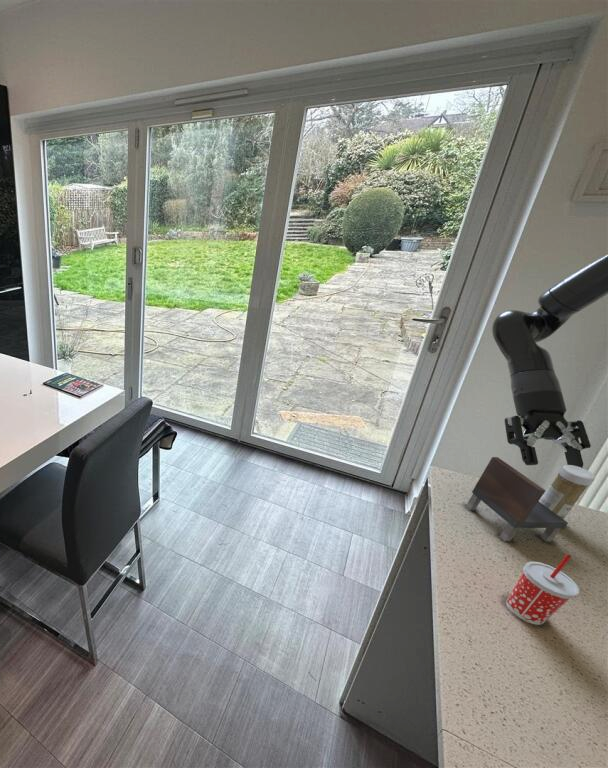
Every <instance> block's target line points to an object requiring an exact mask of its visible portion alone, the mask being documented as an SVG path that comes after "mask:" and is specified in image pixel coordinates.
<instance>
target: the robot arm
mask: <svg viewBox="0 0 608 768" xmlns="http://www.w3.org/2000/svg"><path fill="white" fill-rule="evenodd" d="M606 296H608V253H607V254H605V255H604V256H602V257H600V258H598V259H596V260H594V261H592V262H590V263H588V264H586V265H585V266H583V267H581V268H579V269H578V270H576V271H574V272H573V273H571V274H570V275H567V277H565V278H563V279H562V280H560V281H559V282H557V283H555V284H554V285H553V286H551V287H550V288H548V289H547V290H546V291H544V292H543V293H541V295H539V297H538V298H537V304H538V306H539V308H537V309H536V310H535V311H533V312H526V311H522V310H516V309H515V310H506V311H503V312H501V313H500V314H498V315H497V316H496V317H495V318H494V320H493V323H492V325H491V332H492V337H493V339H494V342H495V343H496V345H497V348H498V349H499V351H500V352H501V354H502V355H503V357H504V358H505V360H506V363H507V369H508V373H509V379H510V390H511V394H512V399H513V403H514V408H515V413H516V415H513V416H509V417H505V418H504V425H505V433H506V434H505V435H506V440H507V443H508V444H509V445H514V446H516V447H518V448H519V451H520V455H521V460H522V462H523V463H524V464H525V466H537V465H538V464H539V459H538V456H537V455H538V454H537V451H536V447H535V446H534V445H535V444H536V442H537V440H541V439H543V440H547V441H552V442H553V443H554V444H557V445H559V446H560V447H561V448H562V449H563V450H564V452H563V453H564V456H565V461H566V465H574V466H578V467H581V468H583V467H584V460H583V456H582V453H581V451H582V450H585V449H591V447H592V445H591V442H590V439H589V436H588V433H587V430H586V427H585V425H584V422H583V421H582V420H580V419H579V420H574V421H568V420H566V418H565V414H566V412H567V407H566V403H565V400H564V399H565V398H564V395H563V392H562V387H561V384H560V381H559V378H558V376H557V375H556V372H555V367H554V364H553V359H552V357H551V354H550V352H549V351H548V350H547V349H545V348H543V347H542V346H540V345H539V344H537V343H539V342H542V341H544V340H545V339H548V338H549V337H551V336H552V335H553V334H554V333H556V332H557V331H558V330H559V329H560V328H561V327H562V326H563V325H565V324H566V323H567V322H568V321H569V320H570V319H571V318H572V316H574V315H575V314H577V313H580V311H582V310H585V309H586V308H588V307H589V306H591V305H593V304H594V303H596V302H598V301H599V300H601V299H602V298H604V297H606ZM523 429H524V430H523ZM583 469H584V468H583Z"/></svg>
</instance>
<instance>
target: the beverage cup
mask: <svg viewBox="0 0 608 768" xmlns="http://www.w3.org/2000/svg"><path fill="white" fill-rule="evenodd" d="M571 558H572V555H571V554H566V555H565V556H564V558H563V559H562V560H561V562H560V563H559V564H558V565H557V566H556V567H553V566H551V565H549V564H546V563H543V562H540V561H528V562H526V563H525V564H524V566H523V569H522V574H521V575H520V577H519V578H518V580H517V582H516V584H515V585H514V587H513V589H512V590H511V592H510V594H509V595H508V597H507V599H506V601H505V604H506V606H507V608H508V610H510V611H511V613H512V614H513V615H514V616H516V617H518V618H519V619H520V620H522V621H524V622H526V623H528V624H532V625H537V626H541V625H543V624H545V623H546V622H547V621H548V620H549V619H550V618H551V617H552V616H553V615H554V614H556V612H557V611H559V609H561V608H562V606H564V605H565V604H566V603H567V602H568V601H569V600H570V599H574V598H575V597H576V596H578V595H579V594H580V588H579V586H578V584H577V582H575V581H574V580H573V579H572V577H570V576H569V575H567V574H565V573H564V572H562V569H563V568H564V567H565V566H566V564H567V563H568V562H569V561H570V560H571Z"/></svg>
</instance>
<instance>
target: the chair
mask: <svg viewBox="0 0 608 768" xmlns="http://www.w3.org/2000/svg"><path fill="white" fill-rule="evenodd" d="M546 491H547V490H546V489H545V488H543V487H541V486H540V485H539V484H538V483H536V482H534V481H533V480H532V479H530V478H529V477H527V476H526V475H524V474H523V473H521V472H520V471H518V470H517V469H516V468H514V467H513V466H511V465H510V464H508V463H507V462H506V461H504V460H503V459H502V458H500V457H498V456H492V457H491V459H490V460H489V462H488V463H487V465H486V466H485V469H484V471H483V472H482V474H481V475H480V477H479V479H478V481H477V482H476V483H475V486H474V487H473V489H472V491H471V493H472V494H471V496H470V498H469V499H468V501H467V502H466V504H465V507H466V508H467V509H468V510H469V511H476V509H477V508H478V506H479V504H480V503H481V502H482V503H484V504H485V505H486V506H487V507H489V508H490V510H492V511H494V513H496V515H498V516H500V517H501V518H502V519H503V520H504V521H505V522H507V525H506V526H505V527H504V529H503V530H502V532H501V533H500V535H499V538H501V539H502V540H503V541H504V542H511V541H512V539H514V537H515V535H516V534H517V532H518V531H519V529H544V530H543V532H542V534H541V535H540V536H539V537H540V538H541V539H542V541H545V542H552V541H553V540H554V539H555V537H556V536H557V535H558V533H560V531H561V529H565V527H566V526H567V525H568V524H569V522H568V521H567V520H565V518H564V519H562V518H561V517H560V516H558V515H557V514H555V513H554V512H553V511H551V510H550V509H549V508H547V507H546V506H544V505H543V504H542V503H540V502H539V501H540V500H541V498H542V497H543V495H544V494H545V492H546Z"/></svg>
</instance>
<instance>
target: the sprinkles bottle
mask: <svg viewBox="0 0 608 768" xmlns="http://www.w3.org/2000/svg"><path fill="white" fill-rule="evenodd" d="M595 479H596V476H595V474H594V473H593V472H591V471H590V470H587V469H585V468H581V467H578V466H574V465H567V464H564V465H563V466H562V467H561V468H560V469H559V471H558V474H557V476H556V477H555V478H554V480H553V481H552V483H551V484H550V485H549V487H548V488H547V490H546V491H545V493H544V494H543V495H542V497H541V498H540V500H539V502H540V503H542V504H543V505H544V506H546V507H547V508H549V509H550V510H551V511H553V512H554V513H555V514H557V515H558V516H560V517H561V518H562V519H564V520H565V518H566V516H568V515H569V514H570V512H571V511H572V509H573V507H574V506H575V505H576V503H577V502H578V501H579V500H580V497H581V496H582V495H583V493H584V492H585V491H586V490H587V488H588V487H590V486H591V485H592V484H593V483H594V481H595Z"/></svg>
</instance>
